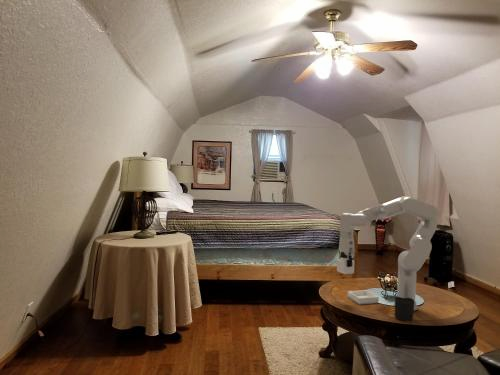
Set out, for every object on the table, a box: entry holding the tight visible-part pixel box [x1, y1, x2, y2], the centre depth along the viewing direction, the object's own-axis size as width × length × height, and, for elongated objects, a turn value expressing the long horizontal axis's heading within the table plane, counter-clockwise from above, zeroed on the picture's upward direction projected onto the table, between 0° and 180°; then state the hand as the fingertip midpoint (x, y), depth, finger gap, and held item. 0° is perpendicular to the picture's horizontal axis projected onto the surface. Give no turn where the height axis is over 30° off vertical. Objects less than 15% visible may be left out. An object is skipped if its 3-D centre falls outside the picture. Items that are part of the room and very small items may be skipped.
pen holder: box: [394, 296, 415, 322], centre depth 200 cm, size 9×9×10 cm
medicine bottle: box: [336, 252, 355, 275], centre depth 222 cm, size 7×7×12 cm
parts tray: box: [347, 289, 379, 305], centre depth 226 cm, size 13×13×4 cm
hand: (345, 264), depth 222 cm, fingers closed on medicine bottle, 7 cm apart
